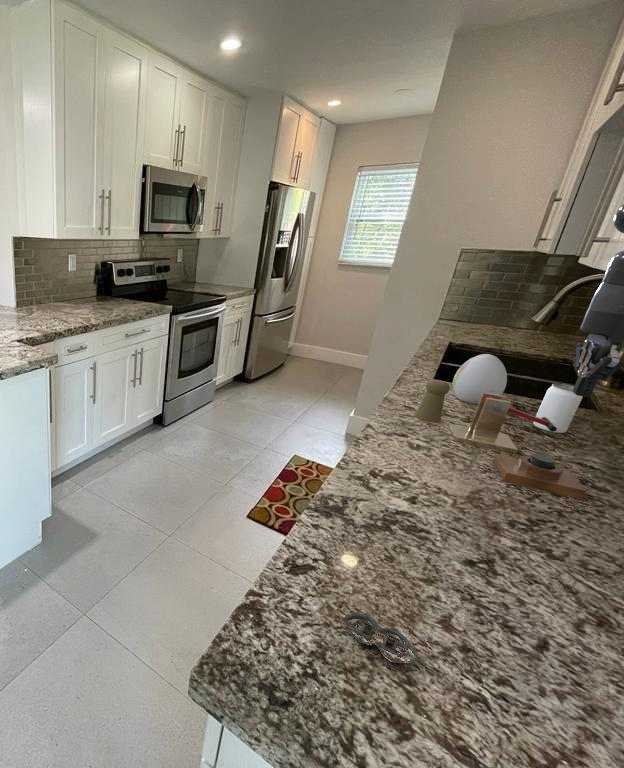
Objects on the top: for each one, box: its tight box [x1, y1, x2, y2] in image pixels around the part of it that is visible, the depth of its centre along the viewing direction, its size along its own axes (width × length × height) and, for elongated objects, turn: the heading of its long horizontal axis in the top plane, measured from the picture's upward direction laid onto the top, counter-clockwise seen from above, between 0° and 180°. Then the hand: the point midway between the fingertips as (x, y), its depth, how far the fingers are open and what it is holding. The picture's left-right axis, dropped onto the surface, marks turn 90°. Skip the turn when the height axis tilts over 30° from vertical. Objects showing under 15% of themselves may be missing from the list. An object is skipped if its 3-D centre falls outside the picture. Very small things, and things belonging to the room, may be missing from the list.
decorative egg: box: [452, 353, 508, 406], centre depth 126 cm, size 12×12×15 cm
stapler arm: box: [484, 396, 557, 431], centre depth 99 cm, size 13×6×2 cm, turn 60°
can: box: [532, 383, 584, 434], centre depth 109 cm, size 6×6×12 cm
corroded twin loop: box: [344, 612, 419, 664], centre depth 52 cm, size 5×8×1 cm, turn 48°
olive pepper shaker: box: [414, 379, 451, 423], centre depth 114 cm, size 6×6×11 cm
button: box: [529, 453, 557, 469], centre depth 86 cm, size 4×4×2 cm
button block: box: [492, 453, 587, 501], centre depth 87 cm, size 12×9×4 cm
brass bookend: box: [447, 392, 519, 454], centre depth 102 cm, size 12×9×12 cm
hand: (580, 394), depth 82 cm, fingers closed
